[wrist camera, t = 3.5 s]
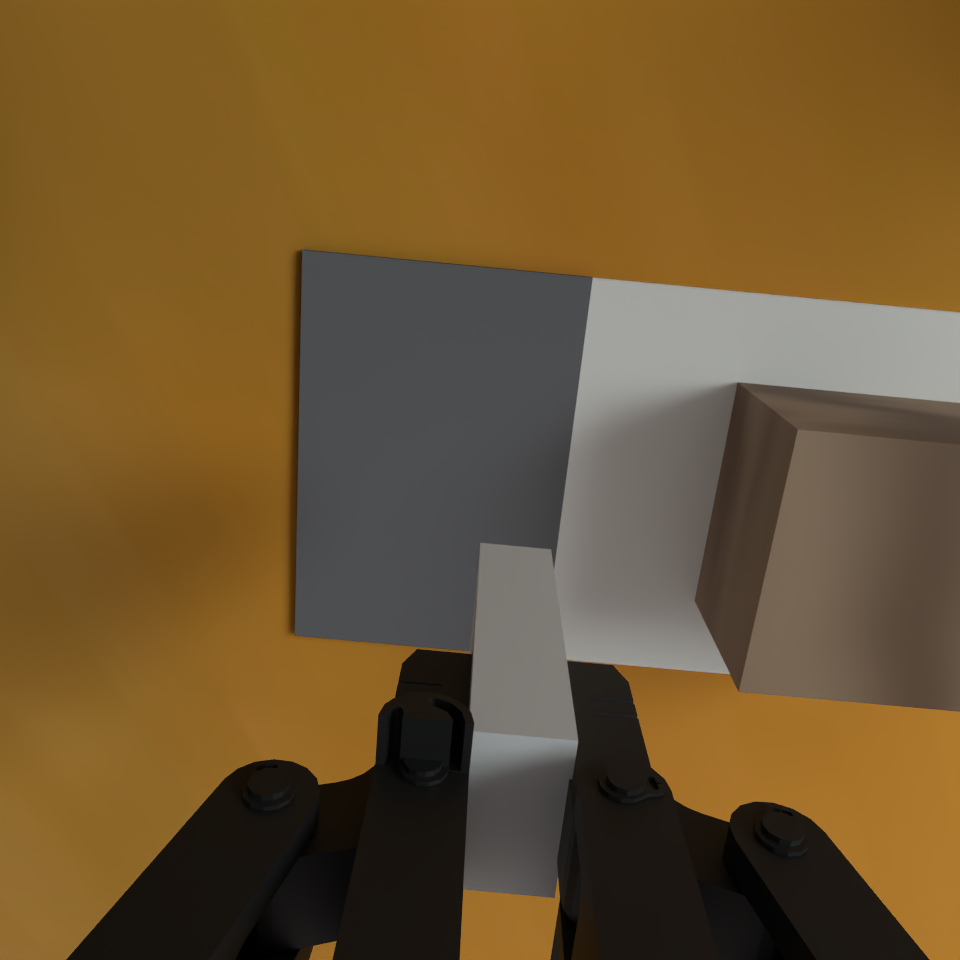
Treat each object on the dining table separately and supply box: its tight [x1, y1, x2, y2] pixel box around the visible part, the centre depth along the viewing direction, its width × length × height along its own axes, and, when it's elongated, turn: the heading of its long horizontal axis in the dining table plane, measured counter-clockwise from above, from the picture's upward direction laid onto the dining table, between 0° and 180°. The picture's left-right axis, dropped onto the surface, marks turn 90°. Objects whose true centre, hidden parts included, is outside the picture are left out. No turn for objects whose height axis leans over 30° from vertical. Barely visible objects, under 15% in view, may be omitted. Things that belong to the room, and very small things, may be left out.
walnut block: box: [695, 382, 960, 711], centre depth 22 cm, size 7×7×5 cm
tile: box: [554, 277, 960, 674], centre depth 25 cm, size 16×12×1 cm
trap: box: [295, 250, 593, 651], centre depth 25 cm, size 8×12×1 cm, turn 175°
